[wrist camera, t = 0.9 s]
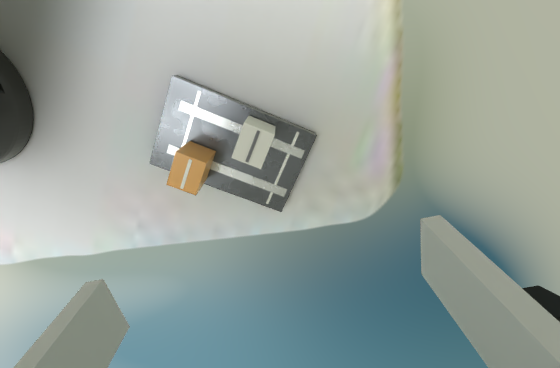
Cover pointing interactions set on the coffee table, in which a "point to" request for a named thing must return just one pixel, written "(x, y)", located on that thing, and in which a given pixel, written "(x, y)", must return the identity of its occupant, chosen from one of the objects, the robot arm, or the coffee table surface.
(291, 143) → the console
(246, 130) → the fader white
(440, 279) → the robot arm
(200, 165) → the fader orange
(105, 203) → the coffee table surface
